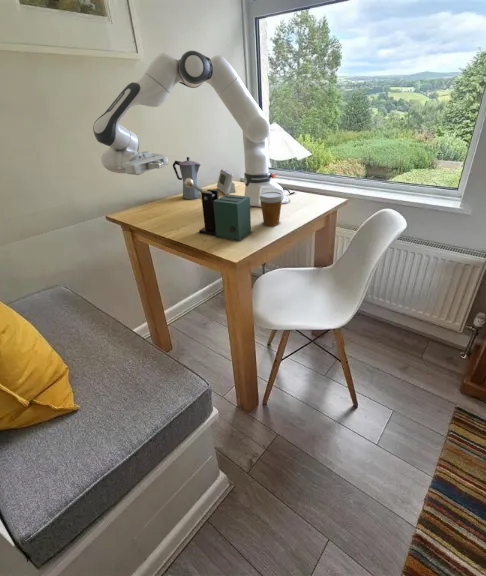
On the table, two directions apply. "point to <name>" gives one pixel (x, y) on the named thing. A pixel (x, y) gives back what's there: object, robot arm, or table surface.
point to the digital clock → (226, 182)
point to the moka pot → (188, 171)
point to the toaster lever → (195, 186)
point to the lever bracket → (209, 212)
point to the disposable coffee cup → (271, 207)
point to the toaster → (232, 217)
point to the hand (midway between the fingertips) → (161, 165)
